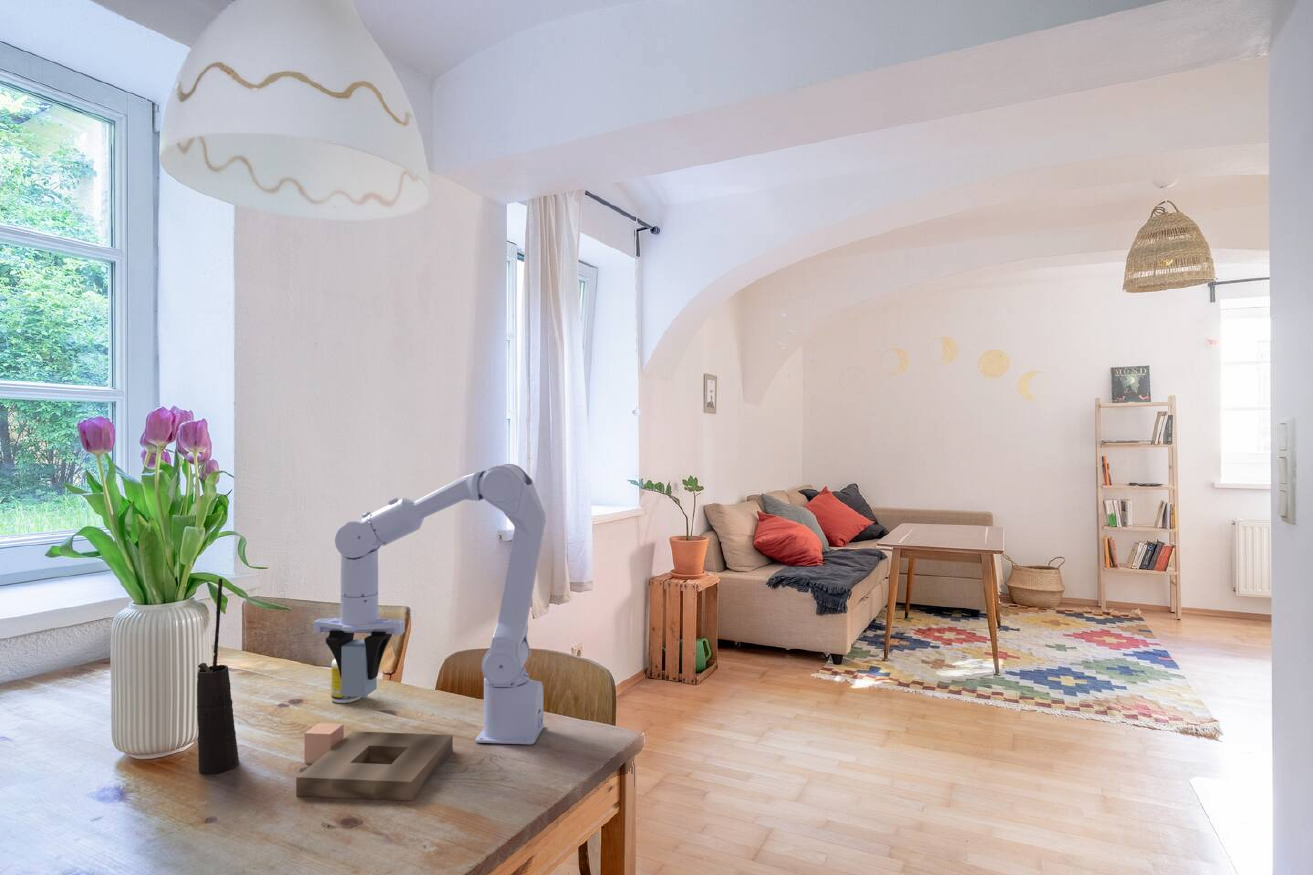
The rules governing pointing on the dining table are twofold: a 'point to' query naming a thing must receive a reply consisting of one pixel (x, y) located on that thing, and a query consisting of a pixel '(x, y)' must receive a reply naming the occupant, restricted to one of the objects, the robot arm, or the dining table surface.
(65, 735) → the dining table surface
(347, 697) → the supplement bottle
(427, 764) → the hole board
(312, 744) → the short pin
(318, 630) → the robot arm
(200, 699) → the butter churn
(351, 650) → the tall pin
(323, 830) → the dining table surface
